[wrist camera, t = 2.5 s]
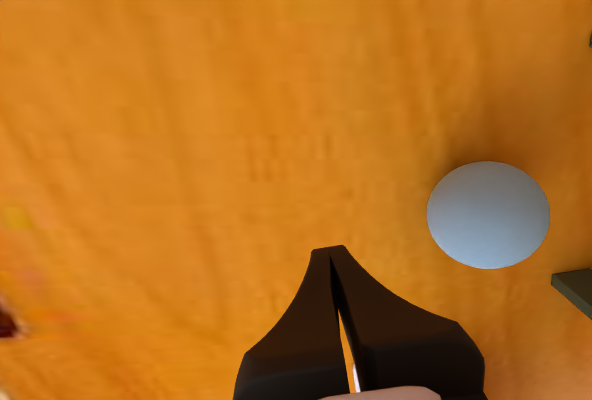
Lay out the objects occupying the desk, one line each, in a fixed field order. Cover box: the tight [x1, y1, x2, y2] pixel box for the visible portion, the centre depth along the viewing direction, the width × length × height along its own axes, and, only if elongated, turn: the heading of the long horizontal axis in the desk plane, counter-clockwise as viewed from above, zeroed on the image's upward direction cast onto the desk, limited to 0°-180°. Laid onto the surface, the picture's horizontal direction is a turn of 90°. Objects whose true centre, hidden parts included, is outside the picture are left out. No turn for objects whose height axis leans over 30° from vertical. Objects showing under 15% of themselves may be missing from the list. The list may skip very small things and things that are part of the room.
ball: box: [427, 161, 550, 269], centre depth 16 cm, size 5×5×5 cm
